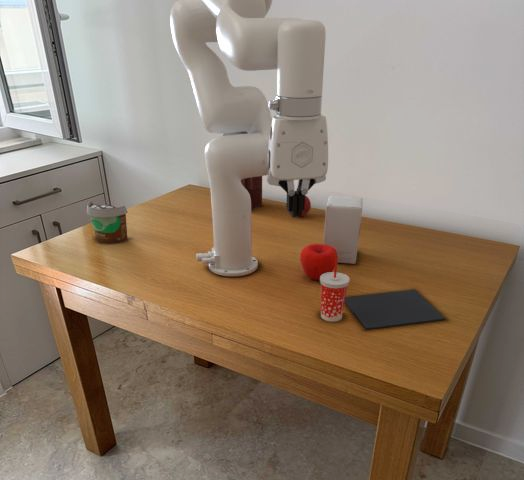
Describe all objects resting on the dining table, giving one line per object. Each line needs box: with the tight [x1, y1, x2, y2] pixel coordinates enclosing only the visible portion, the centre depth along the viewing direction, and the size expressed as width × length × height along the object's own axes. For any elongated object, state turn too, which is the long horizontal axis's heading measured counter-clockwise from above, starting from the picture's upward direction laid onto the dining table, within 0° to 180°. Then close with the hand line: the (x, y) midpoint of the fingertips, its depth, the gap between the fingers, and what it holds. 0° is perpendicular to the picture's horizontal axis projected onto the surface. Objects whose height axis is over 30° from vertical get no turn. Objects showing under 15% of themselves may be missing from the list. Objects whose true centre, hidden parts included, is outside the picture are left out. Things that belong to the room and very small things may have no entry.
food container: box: [86, 200, 128, 244], centre depth 144 cm, size 12×6×10 cm, turn 68°
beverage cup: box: [319, 255, 350, 323], centre depth 107 cm, size 6×6×14 cm
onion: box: [301, 194, 312, 218], centre depth 162 cm, size 6×6×8 cm
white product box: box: [322, 195, 364, 265], centre depth 133 cm, size 9×9×15 cm
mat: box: [344, 289, 446, 331], centre depth 113 cm, size 18×14×1 cm
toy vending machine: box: [222, 132, 263, 211], centre depth 165 cm, size 9×11×28 cm
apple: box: [299, 243, 337, 281], centre depth 124 cm, size 9×9×8 cm
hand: (295, 214), depth 96 cm, fingers closed
